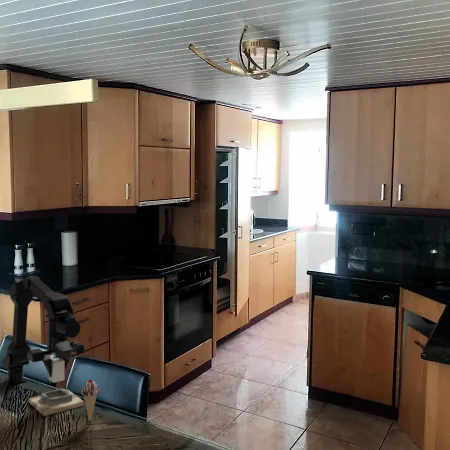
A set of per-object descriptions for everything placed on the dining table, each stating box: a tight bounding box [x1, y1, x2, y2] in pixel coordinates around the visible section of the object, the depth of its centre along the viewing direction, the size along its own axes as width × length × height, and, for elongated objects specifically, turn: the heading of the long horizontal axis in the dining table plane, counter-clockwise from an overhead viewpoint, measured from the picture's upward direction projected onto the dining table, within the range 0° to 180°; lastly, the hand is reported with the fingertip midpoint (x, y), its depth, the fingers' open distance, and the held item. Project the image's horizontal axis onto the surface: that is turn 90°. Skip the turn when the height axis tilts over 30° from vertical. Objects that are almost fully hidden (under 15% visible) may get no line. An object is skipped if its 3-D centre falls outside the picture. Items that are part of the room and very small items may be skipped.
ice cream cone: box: [80, 379, 100, 425], centre depth 162 cm, size 6×6×15 cm
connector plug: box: [48, 357, 65, 383], centre depth 177 cm, size 4×4×7 cm
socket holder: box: [28, 387, 85, 417], centre depth 177 cm, size 14×14×4 cm
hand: (56, 375), depth 177 cm, fingers closed on connector plug, 4 cm apart
